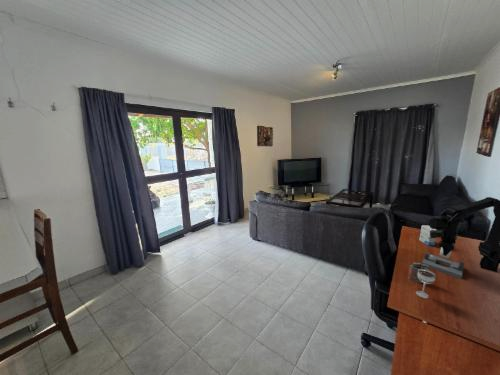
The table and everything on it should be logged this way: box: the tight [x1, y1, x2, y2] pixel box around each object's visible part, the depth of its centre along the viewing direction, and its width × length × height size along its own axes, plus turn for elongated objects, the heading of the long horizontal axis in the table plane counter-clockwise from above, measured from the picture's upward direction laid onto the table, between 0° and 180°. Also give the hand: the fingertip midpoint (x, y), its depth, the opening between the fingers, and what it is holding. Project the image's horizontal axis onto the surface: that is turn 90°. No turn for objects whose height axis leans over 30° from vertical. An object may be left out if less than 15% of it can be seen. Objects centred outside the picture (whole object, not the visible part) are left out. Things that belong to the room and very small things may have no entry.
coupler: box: [439, 247, 452, 259], centre depth 123 cm, size 5×5×7 cm
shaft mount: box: [421, 251, 465, 280], centre depth 125 cm, size 17×14×6 cm
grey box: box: [407, 262, 430, 284], centre depth 113 cm, size 8×3×10 cm, turn 62°
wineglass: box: [415, 269, 437, 299], centre depth 103 cm, size 7×7×12 cm
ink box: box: [418, 224, 437, 246], centre depth 151 cm, size 9×5×12 cm, turn 179°
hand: (445, 253), depth 123 cm, fingers closed on coupler, 4 cm apart
